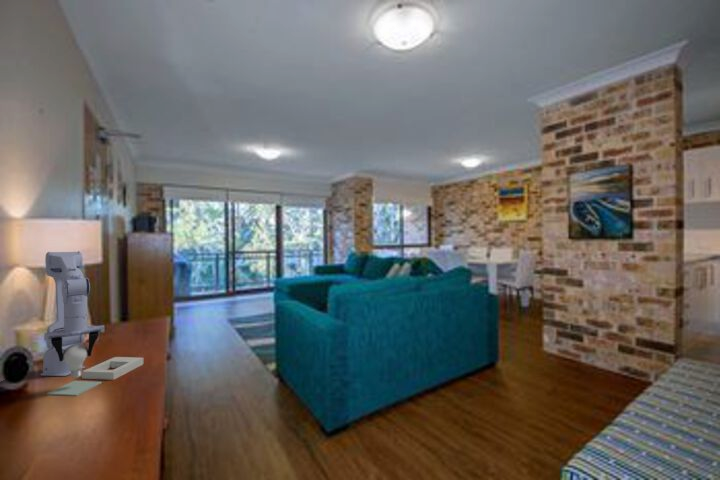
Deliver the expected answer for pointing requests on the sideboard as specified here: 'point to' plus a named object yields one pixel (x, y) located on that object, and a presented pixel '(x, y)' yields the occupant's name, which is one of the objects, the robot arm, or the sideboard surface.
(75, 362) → the lightbulb
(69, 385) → the mat
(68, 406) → the sideboard surface
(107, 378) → the bulb holder
